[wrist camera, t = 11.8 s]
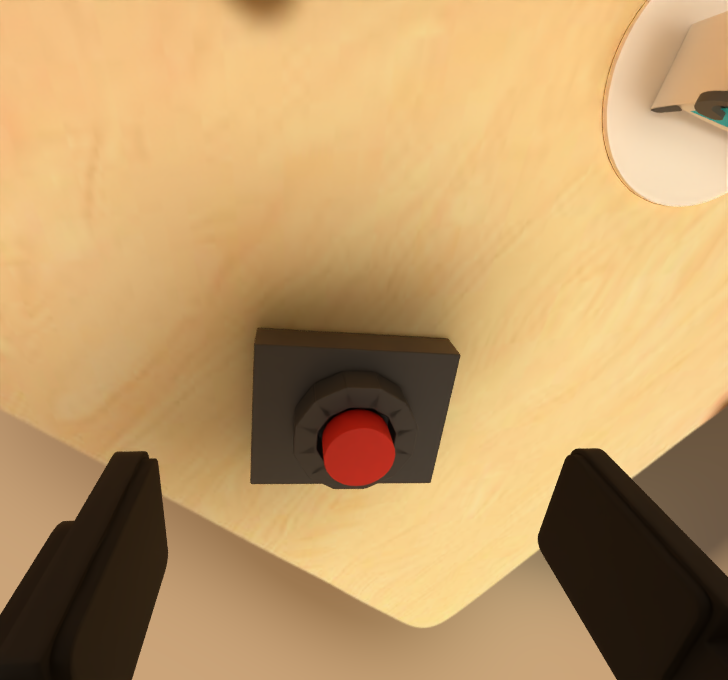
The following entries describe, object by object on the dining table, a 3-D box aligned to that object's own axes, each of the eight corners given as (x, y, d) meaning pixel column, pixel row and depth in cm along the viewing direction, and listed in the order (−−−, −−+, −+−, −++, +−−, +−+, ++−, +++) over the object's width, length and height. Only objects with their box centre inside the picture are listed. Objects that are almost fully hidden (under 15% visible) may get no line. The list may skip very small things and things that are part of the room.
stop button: (319, 463, 24) (320, 486, 22) (324, 407, 22) (327, 427, 21) (383, 464, 24) (389, 486, 23) (393, 409, 23) (400, 429, 21)
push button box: (253, 459, 27) (247, 508, 24) (257, 327, 24) (250, 360, 20) (421, 460, 29) (439, 505, 26) (448, 338, 26) (473, 370, 22)
